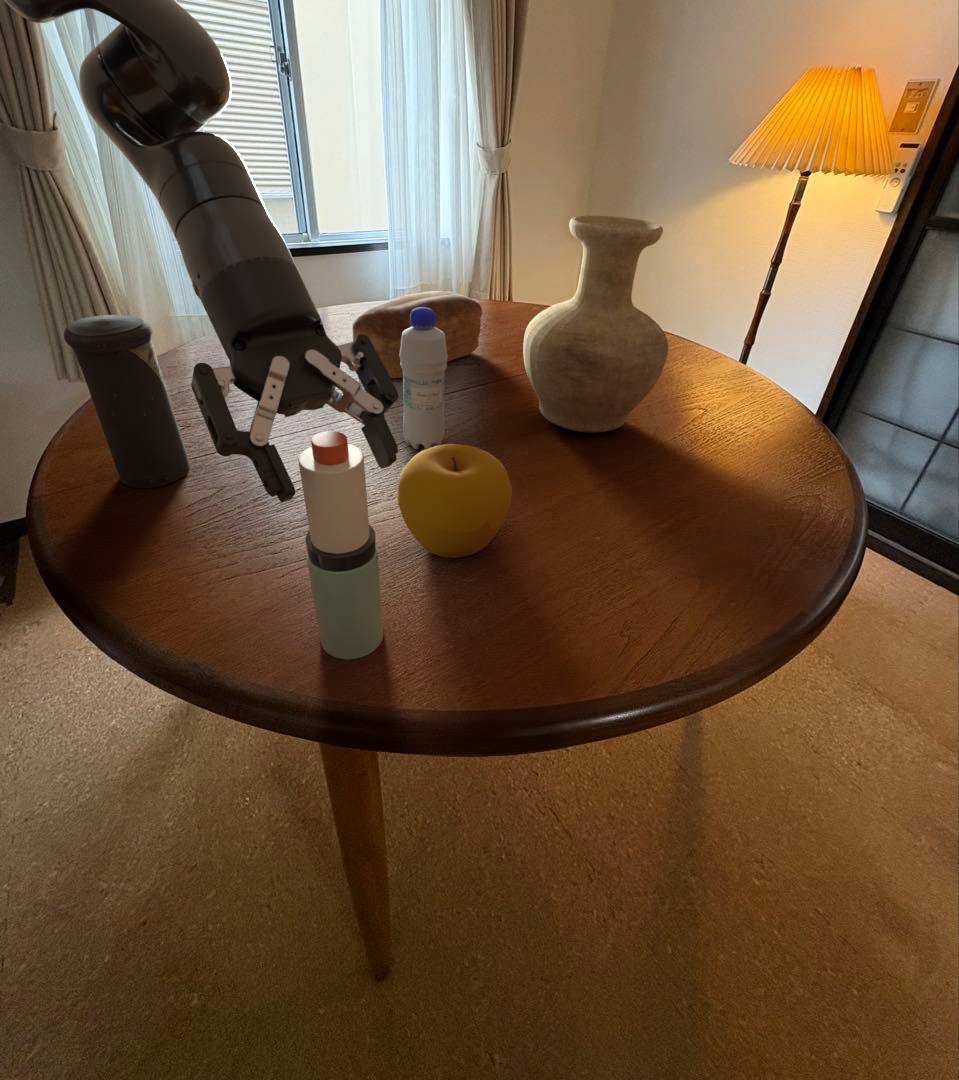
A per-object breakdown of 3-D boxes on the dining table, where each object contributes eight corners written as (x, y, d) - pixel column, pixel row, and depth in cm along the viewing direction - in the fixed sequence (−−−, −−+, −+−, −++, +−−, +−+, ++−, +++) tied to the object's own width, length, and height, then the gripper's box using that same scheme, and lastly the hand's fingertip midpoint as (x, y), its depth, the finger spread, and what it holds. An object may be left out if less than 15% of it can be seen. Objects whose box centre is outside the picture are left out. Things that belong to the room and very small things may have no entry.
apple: (386, 521, 69) (381, 437, 62) (481, 502, 74) (486, 423, 67) (420, 586, 60) (419, 497, 53) (526, 560, 65) (538, 475, 58)
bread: (489, 353, 121) (493, 293, 114) (395, 388, 103) (392, 319, 96) (441, 338, 128) (442, 280, 120) (345, 368, 110) (339, 302, 102)
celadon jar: (321, 664, 51) (304, 562, 44) (319, 618, 56) (302, 519, 48) (387, 653, 52) (381, 553, 45) (379, 609, 57) (372, 512, 50)
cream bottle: (311, 557, 44) (295, 456, 39) (310, 522, 48) (295, 426, 43) (372, 550, 46) (365, 451, 40) (366, 517, 49) (359, 422, 44)
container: (206, 469, 77) (164, 318, 65) (144, 498, 70) (85, 337, 58) (166, 451, 80) (120, 304, 68) (104, 477, 74) (41, 320, 62)
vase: (517, 447, 87) (540, 229, 69) (514, 391, 105) (532, 206, 87) (661, 456, 87) (722, 241, 69) (633, 399, 105) (676, 216, 87)
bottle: (406, 455, 83) (402, 315, 71) (399, 435, 88) (394, 301, 76) (450, 452, 85) (453, 314, 73) (440, 432, 90) (442, 300, 78)
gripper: (149, 261, 35) (259, 496, 35) (349, 245, 43) (438, 437, 43) (148, 326, 41) (242, 525, 42) (322, 302, 49) (401, 469, 49)
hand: (342, 480), depth 42 cm, fingers open, 8 cm apart
